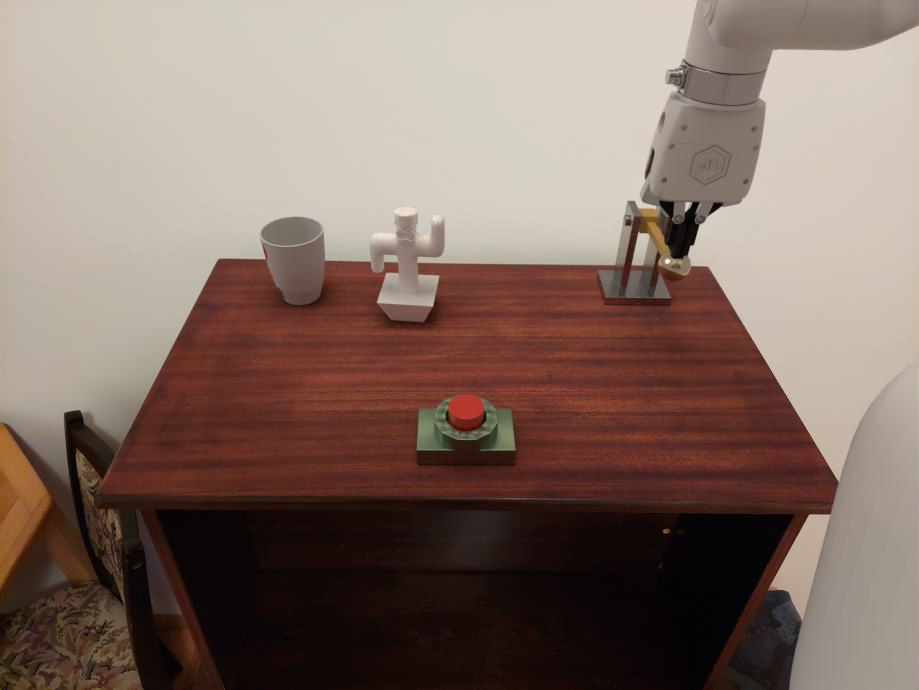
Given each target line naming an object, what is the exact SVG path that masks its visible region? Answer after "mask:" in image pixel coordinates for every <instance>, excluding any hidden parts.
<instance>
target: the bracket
mask: <svg viewBox="0 0 919 690" xmlns="http://www.w3.org/2000/svg"><path fill="white" fill-rule="evenodd" d="M638 208H639V207H638V204H637V202H636V200H627V201H626V206H625V211H624V216H623V218H622V222H623V223H622V226H621V233H620V236H619V237H620V239H619V242H618V246H617V247H618V248H617V251H616V252H617V253H616V257H615V258H616V259H615V262H614V268H613V269H611V270H610V269H597V271H596V280H597V283H598V286H599V289H600V293H601V296H602V299H603V303H604V305H632V306H633V305H636V306H638V305H639V306H640V305H642V306H643V305H644V306H647V305H648V306H670V305H671V302H672V296H671V294H670V292H669V289H668V287H667V285H666V283H665V279H664V278H663V277H662V276H661V275H660V273H659V271H658V262H659V259H660V258H661V255H660V253H659V252H658V250H657V248H656V246H655V245H654V243H653V241H652V240H651V238H650V236H649V237H648V242H647V247H646V251H645V256H644V260H643V265H642V269H641V270H632V265H633V260H634V255H635V251H636V246H637V241H638V237H639V228H640V223H641V218H642V215H641V213H640V211H639V209H638ZM655 210H656V212H657V213H658V215H659V216H660V218H659V223H658V228H659V230H660V231H661V233H662V235H663V236H665V232H666V227H667V223H668V219H669V216H668V214H667V213H666V212H665V211H664V210H663V208H662V207H660V206H656V207H655Z"/></svg>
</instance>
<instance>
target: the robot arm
mask: <svg viewBox="0 0 919 690" xmlns="http://www.w3.org/2000/svg"><path fill="white" fill-rule="evenodd" d="M916 27H919V0H696V3H695V8H694V12H693V17H692V21H691V27H690V31H689V36H688V40H687V45H686V49H685V53H684V58H683V59H681V61H680V64H679V67H675V68H674V69H666V72H665V77H664V83H665V85H672V86H673V87H675V88H676V90H673V91H671V92H670V93H669V96H668V98H667V99H666V102H665V104H664V107H663V109H662V111H661V114H660V116H659V119H658V122H657V125H656V128H655V131H654V134H653V138H652V140H651V144H650V147H649V151H648V155H647V159H646V164H645V169H644V180H645V181H644V183H643V185H642V187H641V189H640V192H639V198H640V200H641V202H642V203H643V204H647V205H651V206H660V207H662V208H663V210H664V211H665V212H666V213H667V214H668V216H669V219H668V223H667V227H666V232H665V236H664V242H665V245H668V247H669V250H670V252H671V254H672V256H678V255H682V256H688V257H689V253H690V249H691V247H693V246H694V245H695V243H696V239H697V236H698V232H699V230H700V229H699V228H700V225H703V224H704V223H705V222H706V221H707V220H708V219H707V218H708V217H709V216H712V214H714V213H715V212H717V211H718V210H719V209H721V208H727V207H731V206H737V205H740V204H741V203H742V202H743V199H745V198H746V197H747V196H748V194H749V192H750V190H751V188H752V184H753V180H754V177H755V174H756V169H757V165H758V161H759V157H760V152H761V146H762V141H763V135H764V127H765V121H766V109H767V102H765V100H764V99H762V98H760V95H761V92H762V88H763V85H764V83H765V79H766V75H767V71H768V68H769V64H770V61H771V58H772V56H773V51H777V50H788V51H789V50H790V51H791V50H793V51H833V52H835V51H838V52H839V51H842V52H845V51H846V52H847V51H856V50H860V49H866V48H869V47H872V46H875V45H878V44H881V43H884V42H886V41H888V40H891V39H893V38H895V37H897V36H899V35H903V34H904V33H906V32H909V31H910V30H912V29H915V28H916ZM686 203H689V204H688V207H687V210H686V206H687V205H686ZM841 469H842V470H841V472H840V476H839V480H838V483H837V487H836V492H835V495H834V500H833V503H832V507H831V511H830V514H829V519H828V522H827V526H826V529H825V533H824V537H823V541H822V546H821V549H820V553H819V557H818V560H817V564H816V569H815V571H814V576H813V580H812V584H811V586H810V591H809V594H808V598H807V602H806V606H805V610H804V614H803V618H802V621H801V624H800V629H799V633H798V638H797V641H796V646H795V650H794V655H793V660H792V665H791V670H790V671H791V672H790V678H789V687H788V690H919V358H918V359H916V360H915V361H913V362H912V363H910V364H909V365H907V366H905V368H903V369H901V371H900V372H898V373H897V374H896V375H895V376H894V377H893V378H892V379H891V380H890V381H889V382H888V383H887V384H886V385H885V386H884V387H883V388H882V389H881V390H880V392H879V393H878V394H877V396H876V397H875V398H874V399H873V400H872V402H871V403H870V404H869V406H868V408H867V409H866V411H865V412H864V414H863V416H862V417H861V419H860V420H859V422H858V425H857V426H856V429H855V431H854V434H853V437H852V439H851V441H850V444H849V448H848V451H847V454H846V457H845V460H844V464H843V466H842V468H841Z"/></svg>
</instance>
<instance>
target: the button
mask: <svg viewBox="0 0 919 690" xmlns="http://www.w3.org/2000/svg"><path fill="white" fill-rule="evenodd" d="M458 395H459V396H457V397H455V398H453V399H452V400H451V401H450V403H449V407H448V419H449V423H450V424H451V426H452V427H454V428H455V429H457V430H460V431H473V430H476V429H477V428H479V427H480V426H481V425H482V423H483V419H484V404H483V402H482V401H481V400H480V399H479V398H477V397H475V396H473V395H474V394H458Z"/></svg>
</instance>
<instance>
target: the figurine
mask: <svg viewBox="0 0 919 690" xmlns="http://www.w3.org/2000/svg"><path fill="white" fill-rule="evenodd" d="M393 213H394V215H393V217H394V225H395V233H394V232H375V233H373V234H372V235H371V236H370V239H369V254H370V267H371V271H372V272H373V273H374V274H381V273H382V272H383V271H384V269H385V256H396V257H397V268H398V269H397V271H398V272H386V273H385V276H384V279H383V282H382V285H381V289H380V292H379V294H378V297H377V300H376V304H377V306H378V307H379V308H380V309H381V310H382V311H383V312H384V313H385V314H386V316H387V317H388V318H389V319H390V321H397V322H398V321H399V322H413V323H415V322H416V323H425V321H426V319H427V318H428V316H429V315H430V313H431V311H432V309H433V308H434V303H435V299H436V294H437V290H438V285H439V280H440V275H433V274H419V267H418V266H419V265H418V263H419V261H418V258H434V259H435V258H440V257H442V255H443V254H444V251H445V246H446V244H445V243H446V242H445V241H446V222H445V221H446V220H445V217H444V216H443V215H442V214H439V213H438V214H435V215H433V216H432V218H431V222H430V226H431V227H430V234H419V233H418V230H417V226H418V224H419V212H418V209H417V208H414V207H412V206H401V207H397V208H396V209H394V211H393Z"/></svg>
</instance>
